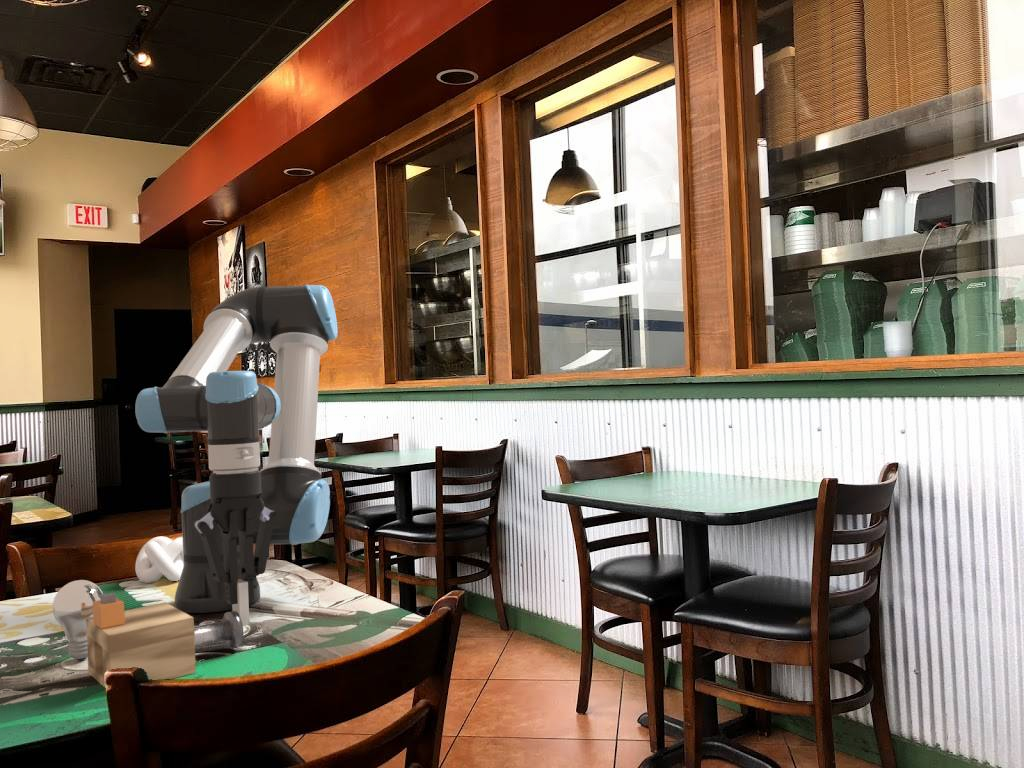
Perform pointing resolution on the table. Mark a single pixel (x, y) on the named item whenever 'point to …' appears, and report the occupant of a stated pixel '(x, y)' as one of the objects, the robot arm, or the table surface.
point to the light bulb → (76, 614)
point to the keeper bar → (108, 611)
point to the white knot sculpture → (160, 559)
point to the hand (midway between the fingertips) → (241, 623)
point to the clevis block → (144, 643)
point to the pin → (220, 631)
